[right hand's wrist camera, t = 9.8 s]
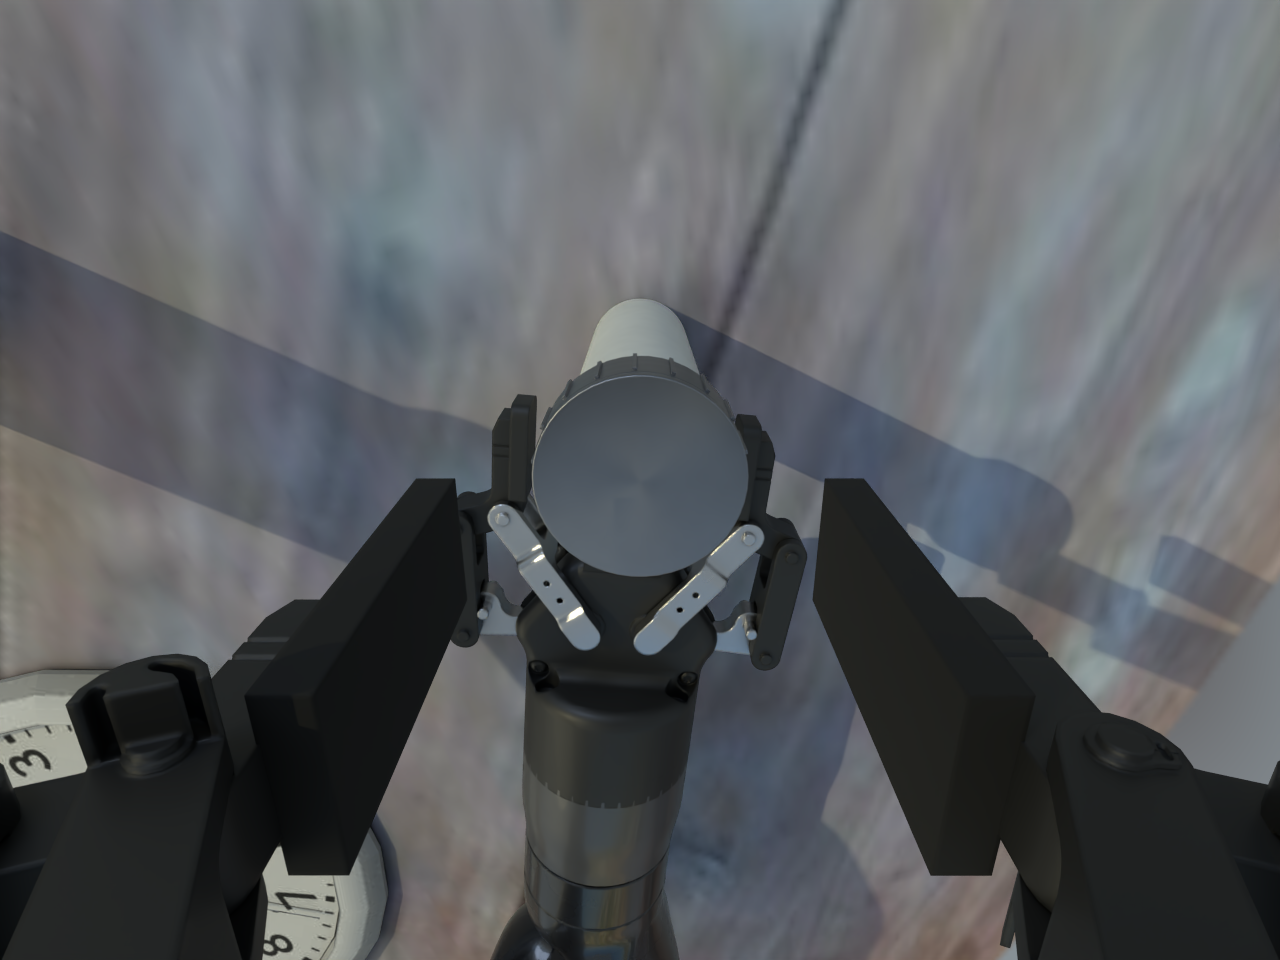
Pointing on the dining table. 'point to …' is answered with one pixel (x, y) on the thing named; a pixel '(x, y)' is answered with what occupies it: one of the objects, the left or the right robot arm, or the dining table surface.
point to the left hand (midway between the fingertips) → (636, 409)
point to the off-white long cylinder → (640, 334)
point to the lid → (640, 467)
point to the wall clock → (297, 905)
